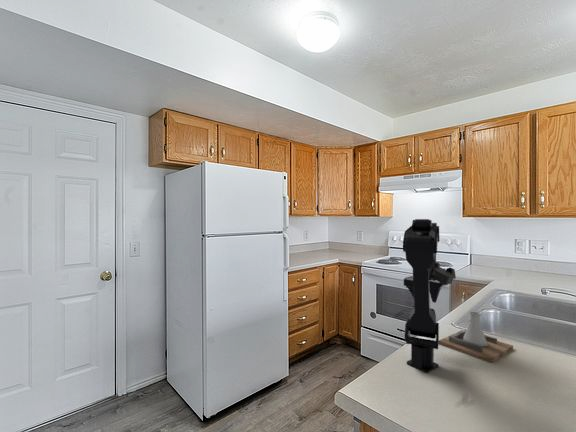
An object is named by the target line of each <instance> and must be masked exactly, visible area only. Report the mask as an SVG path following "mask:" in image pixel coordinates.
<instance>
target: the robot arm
mask: <svg viewBox="0 0 576 432" xmlns="http://www.w3.org/2000/svg"><path fill="white" fill-rule="evenodd" d="M437 223H438V222H432V219H429V218H416V219H412V224H411V225H410V226H408V228H407V229H406V230H405V231H404V234H403V239H402V241H403V242H402V252H404V253H405V254H404V255H405V259H406V262H407V263H408V264H409V266H410V267H411V268H412V276H411V275H410V276H407V277H405V278H403V287H405V288H406V289H408V291H409V292H410V294H411V296H412V298H413V302H414V303H413V305H414V306H412V309H411V311H410V315H409V318H407V321H406V322H405V326H404V327H405V329H404V342H405V344H406V345H411V348H410V349H411V350H410V353H411V356H410V357H411V358H410V359H409V360H407V361H406V364H407V365H410V366H411V367H412V368H413V367H414V368H416V369H418V370H419V371H423V372H425V373H430V372H431V371H433V370H435V369H436V368H438V367H440V364H439V363H436V362H435V358H434V357H435V352H434V351H435V350H437V351H438V350H439V346H440V344H439V340H440V339H439V338H440V337H439V336H440V335H439V333H440V327H439V326H440V324H439V322H437V314H436V311H435V309H434V308H431V302H432V303H437V301H438V298H439V295H440V291H441V289H442V287H444V286H448V285H451V284H453V282H454V279H456V278H457V277H456V270H455V269H454V268H452V267H448V268H441V267H440V266H441V265H440V262H437V254H438V243H440V242H441V241H440V225H438V224H437ZM432 339H433V340H432ZM434 339H435V340H434Z"/></svg>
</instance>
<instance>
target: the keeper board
mask: <svg viewBox="0 0 576 432" xmlns="http://www.w3.org/2000/svg"><path fill="white" fill-rule="evenodd" d="M466 330H467V328H465V329H463V330H462V329H461V330H460V331H457V332H455V333H453V334H451V335H450V334H449V335H448V336H446V337H444V338H441V339H439V346H442V347H446V348H449V349H452V350H454V351H457V352H460V353H462V354H466V355H468V356H471V357H474V358H476V359H479V360H483V361H486V362H488V363H490V364H492V363H494V362H496V361H498V359H500V358H502V357H504V356H505V355H506V354H508V353H510V352H511V351H513V350H514V345H512V344H510V343H506V342H503V341H500V340H498V338H497V337H496V338H495V337H493V336H489V335H486V334H484V336H485V338H486V341H487V344H488V346H480V345H476V344H473V343H470V342H467V341H464V340H463V337H464V335H465V333H466Z"/></svg>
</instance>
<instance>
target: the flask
mask: <svg viewBox="0 0 576 432" xmlns="http://www.w3.org/2000/svg"><path fill="white" fill-rule="evenodd" d="M469 314H470V319H469V323H468V326H467V327H466V333H465V335H464V337H463V340H464V341H467V342H470V343H473V344H476V345H480V346H488V344H487V341H486V338H485V336H484V335H485V333H484V331H483V327H482V324H481V316H482V315H481V314H482V313H480V312H478V311H473V310H472V311H469Z"/></svg>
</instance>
